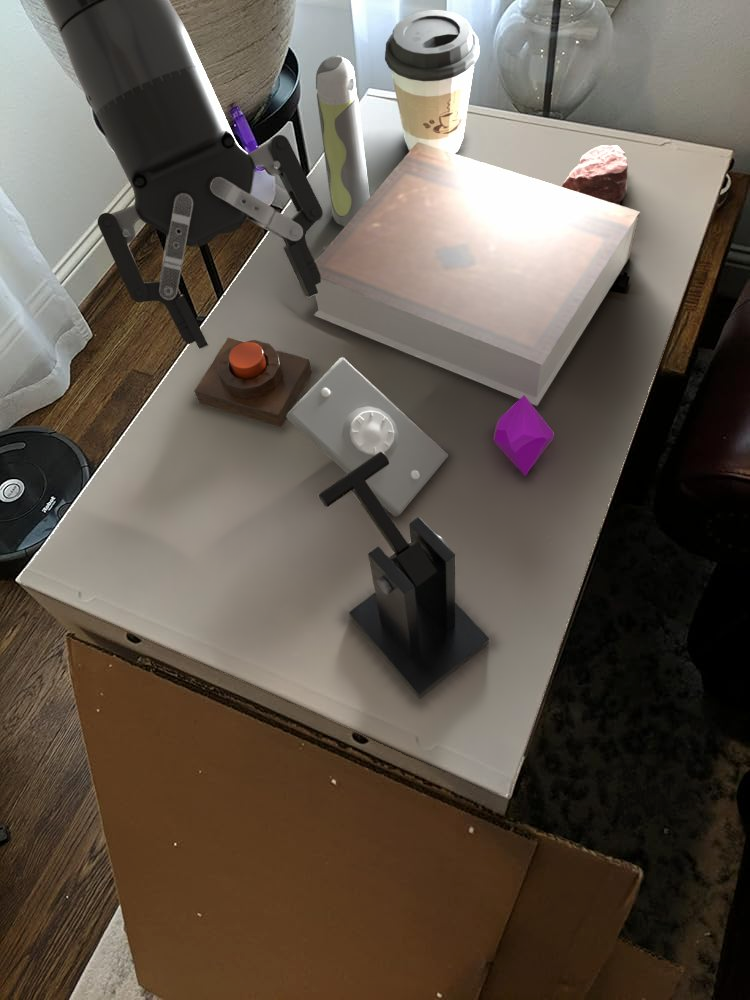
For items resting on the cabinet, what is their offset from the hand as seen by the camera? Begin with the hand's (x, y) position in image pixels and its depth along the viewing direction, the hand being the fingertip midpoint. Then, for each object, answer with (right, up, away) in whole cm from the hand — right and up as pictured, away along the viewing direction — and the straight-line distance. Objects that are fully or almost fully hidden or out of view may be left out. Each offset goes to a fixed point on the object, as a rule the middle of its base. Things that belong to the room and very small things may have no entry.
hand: (258, 320), depth 61 cm
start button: (-5, +1, +30) cm, 30 cm away
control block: (-5, 0, +33) cm, 33 cm away
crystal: (+23, -8, +26) cm, 36 cm away
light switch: (+8, -9, +27) cm, 29 cm away
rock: (+35, +25, +45) cm, 62 cm away
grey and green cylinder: (+5, +23, +46) cm, 52 cm away
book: (+19, +12, +38) cm, 45 cm away
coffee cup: (+16, +34, +52) cm, 64 cm away
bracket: (+12, -24, +17) cm, 32 cm away
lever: (+9, -15, +6) cm, 18 cm away
